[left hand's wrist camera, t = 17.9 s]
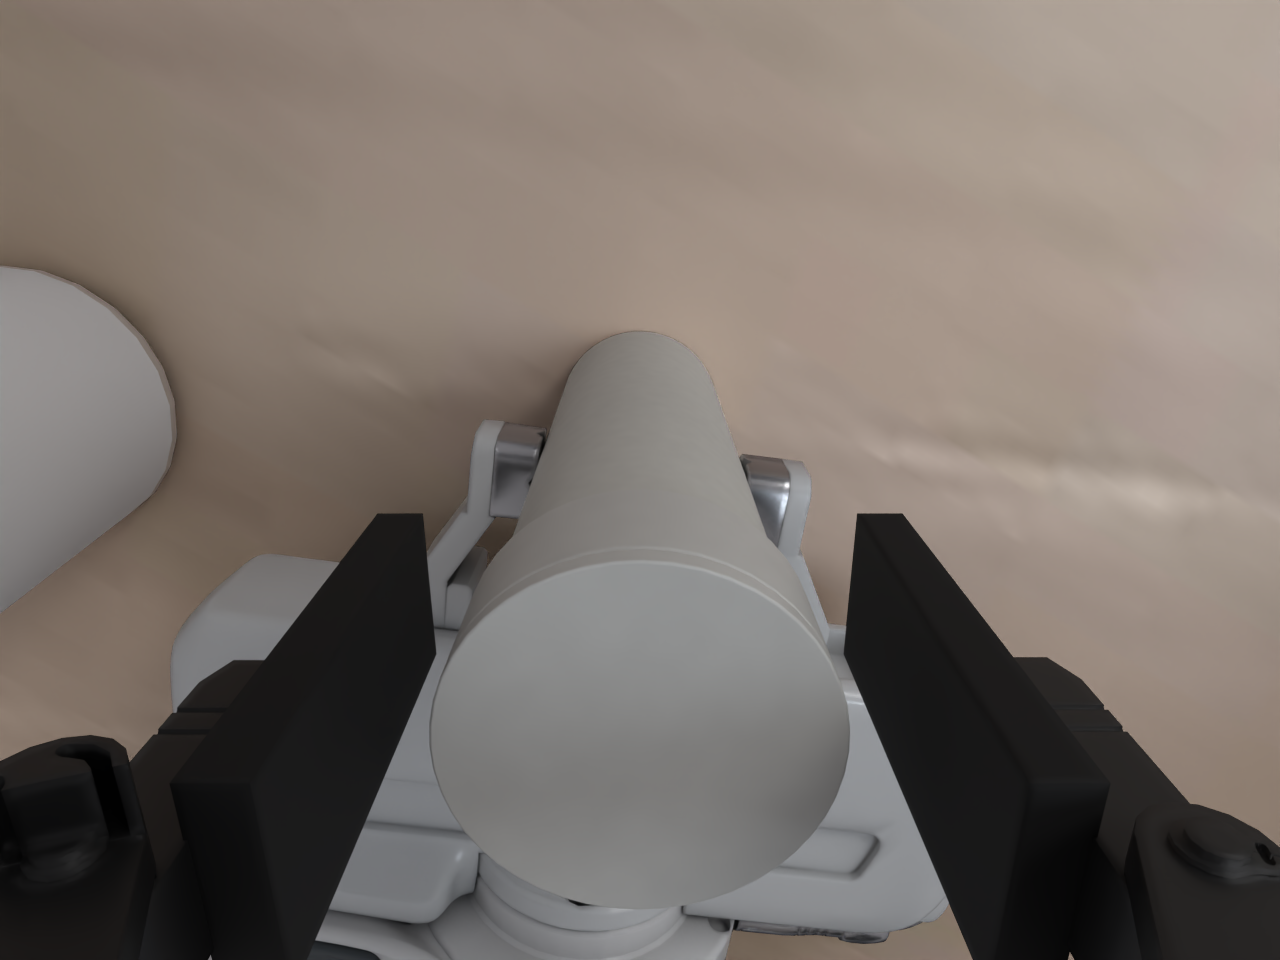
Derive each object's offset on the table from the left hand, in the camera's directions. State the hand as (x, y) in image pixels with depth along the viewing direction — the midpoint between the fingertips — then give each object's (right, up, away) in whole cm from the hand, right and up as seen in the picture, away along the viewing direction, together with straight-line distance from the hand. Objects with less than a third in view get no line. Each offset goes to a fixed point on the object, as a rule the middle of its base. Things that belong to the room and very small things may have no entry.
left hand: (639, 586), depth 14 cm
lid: (0, -1, -4) cm, 4 cm away
